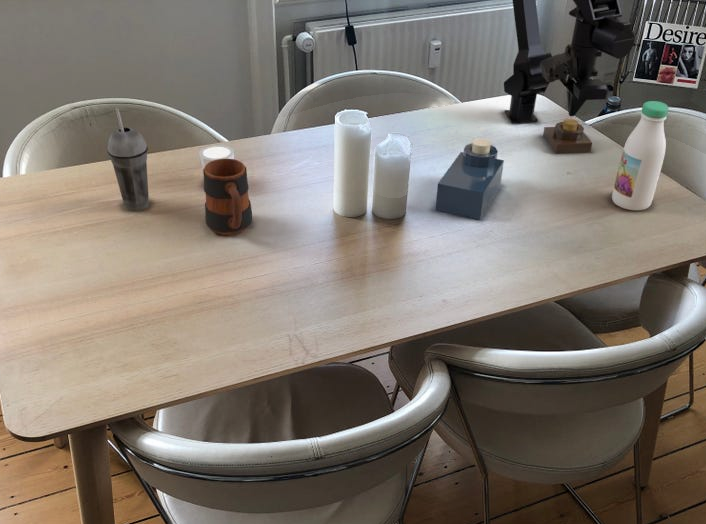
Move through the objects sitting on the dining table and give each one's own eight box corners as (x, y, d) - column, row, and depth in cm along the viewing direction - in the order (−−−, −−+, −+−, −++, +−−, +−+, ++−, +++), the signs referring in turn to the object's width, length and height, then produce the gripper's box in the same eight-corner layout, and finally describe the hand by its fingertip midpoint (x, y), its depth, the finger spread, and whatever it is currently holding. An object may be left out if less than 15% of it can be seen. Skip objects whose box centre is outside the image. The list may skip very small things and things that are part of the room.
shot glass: (243, 184, 168) (241, 152, 164) (217, 195, 164) (214, 163, 160) (221, 173, 172) (218, 141, 167) (195, 184, 168) (191, 152, 163)
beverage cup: (162, 200, 163) (148, 101, 150) (143, 217, 157) (127, 116, 145) (130, 193, 164) (113, 95, 152) (110, 210, 159) (91, 110, 146)
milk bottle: (647, 194, 168) (673, 98, 155) (654, 212, 162) (682, 114, 149) (608, 191, 169) (631, 95, 156) (614, 210, 163) (638, 112, 150)
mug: (217, 249, 149) (212, 191, 142) (201, 217, 158) (195, 161, 150) (263, 240, 152) (260, 182, 144) (245, 210, 160) (241, 153, 153)
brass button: (559, 126, 184) (561, 118, 183) (573, 125, 185) (575, 118, 184) (564, 132, 182) (566, 124, 181) (578, 131, 182) (580, 124, 181)
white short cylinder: (474, 146, 166) (475, 136, 165) (491, 149, 165) (493, 140, 164) (469, 153, 164) (470, 144, 163) (486, 157, 163) (488, 147, 161)
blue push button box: (459, 175, 173) (463, 139, 168) (501, 183, 170) (507, 147, 165) (435, 210, 161) (438, 172, 156) (479, 220, 159) (485, 182, 154)
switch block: (542, 136, 189) (545, 119, 186) (576, 134, 189) (579, 118, 187) (555, 153, 182) (558, 136, 179) (590, 152, 183) (594, 135, 180)
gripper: (534, 29, 178) (523, 100, 187) (563, 60, 163) (549, 135, 173) (584, 27, 179) (570, 98, 189) (617, 58, 165) (600, 133, 175)
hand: (571, 115), depth 181 cm, fingers closed
